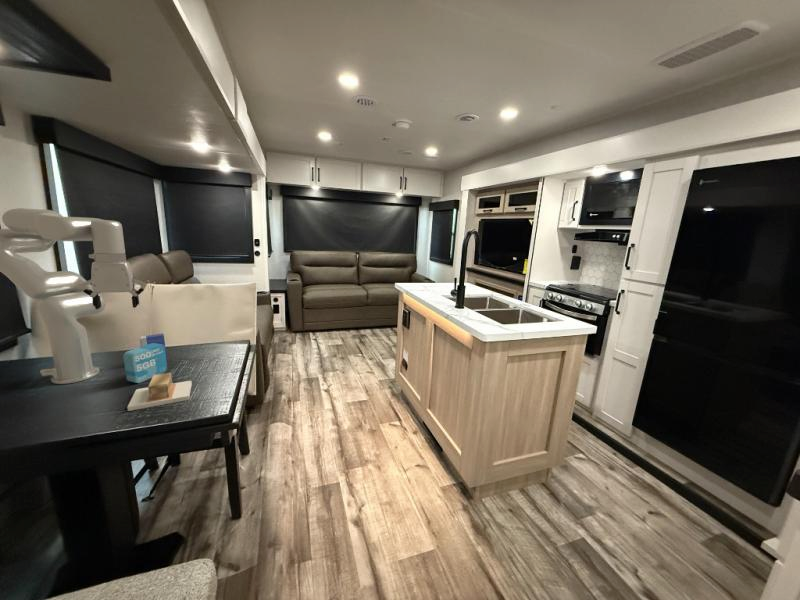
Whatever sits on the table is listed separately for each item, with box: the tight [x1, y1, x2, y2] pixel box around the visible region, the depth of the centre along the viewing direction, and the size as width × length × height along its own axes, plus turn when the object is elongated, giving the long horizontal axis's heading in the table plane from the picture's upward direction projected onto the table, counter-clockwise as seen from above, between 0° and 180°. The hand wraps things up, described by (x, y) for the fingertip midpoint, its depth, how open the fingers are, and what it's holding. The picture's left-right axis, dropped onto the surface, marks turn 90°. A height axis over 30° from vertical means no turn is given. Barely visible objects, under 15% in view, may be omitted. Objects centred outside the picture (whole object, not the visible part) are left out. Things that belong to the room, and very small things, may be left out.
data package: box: [122, 343, 168, 384], centre depth 117 cm, size 12×4×12 cm, turn 165°
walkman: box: [139, 332, 168, 361], centre depth 130 cm, size 8×3×12 cm, turn 132°
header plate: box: [126, 380, 193, 412], centre depth 106 cm, size 16×12×2 cm
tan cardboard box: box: [147, 372, 173, 401], centre depth 105 cm, size 5×9×5 cm, turn 30°
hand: (117, 307), depth 106 cm, fingers open, 9 cm apart
